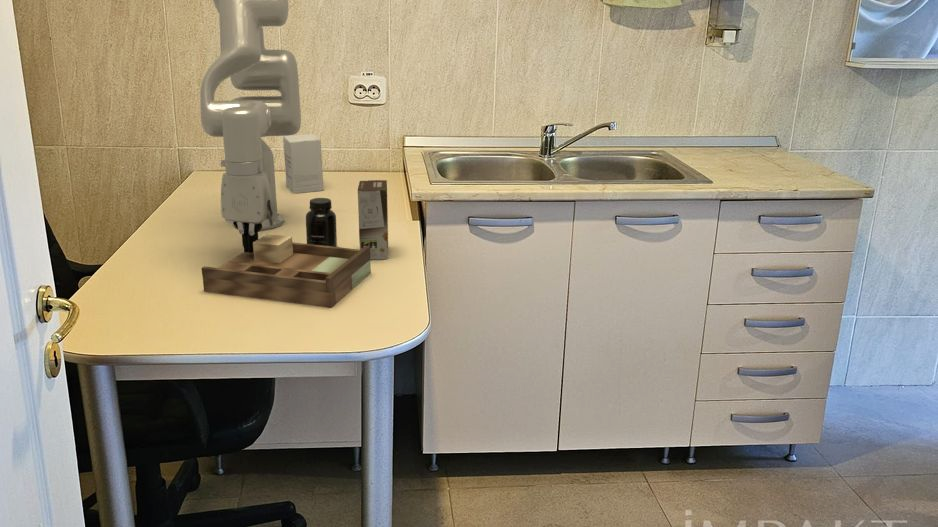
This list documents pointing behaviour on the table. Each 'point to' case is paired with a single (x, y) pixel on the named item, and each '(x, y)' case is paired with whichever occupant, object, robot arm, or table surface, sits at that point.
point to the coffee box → (373, 217)
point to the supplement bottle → (321, 223)
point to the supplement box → (303, 163)
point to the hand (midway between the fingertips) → (251, 250)
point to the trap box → (293, 275)
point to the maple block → (273, 248)
